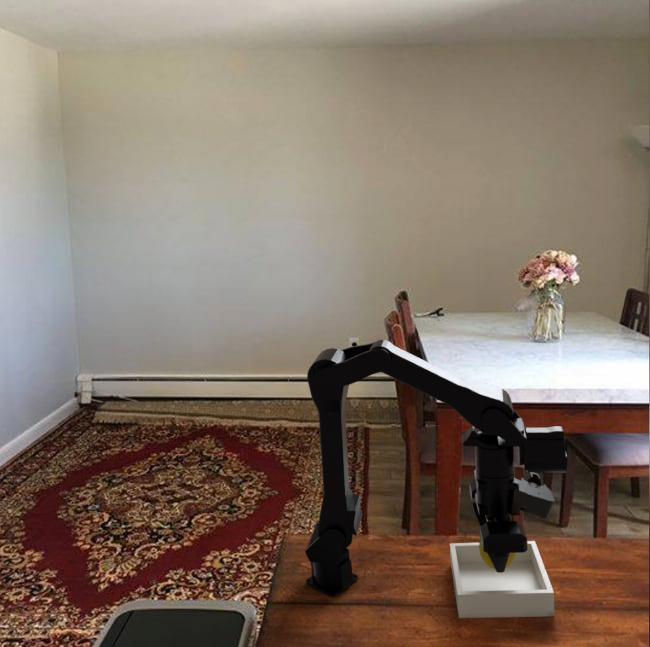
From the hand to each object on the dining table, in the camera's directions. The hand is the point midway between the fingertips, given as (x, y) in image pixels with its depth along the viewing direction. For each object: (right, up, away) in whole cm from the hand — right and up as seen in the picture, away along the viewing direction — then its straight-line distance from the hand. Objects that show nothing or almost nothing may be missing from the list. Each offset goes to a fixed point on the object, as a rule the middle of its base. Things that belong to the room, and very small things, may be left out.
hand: (497, 561), depth 110 cm
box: (+1, -5, +1) cm, 5 cm away
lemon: (0, -2, 0) cm, 2 cm away
